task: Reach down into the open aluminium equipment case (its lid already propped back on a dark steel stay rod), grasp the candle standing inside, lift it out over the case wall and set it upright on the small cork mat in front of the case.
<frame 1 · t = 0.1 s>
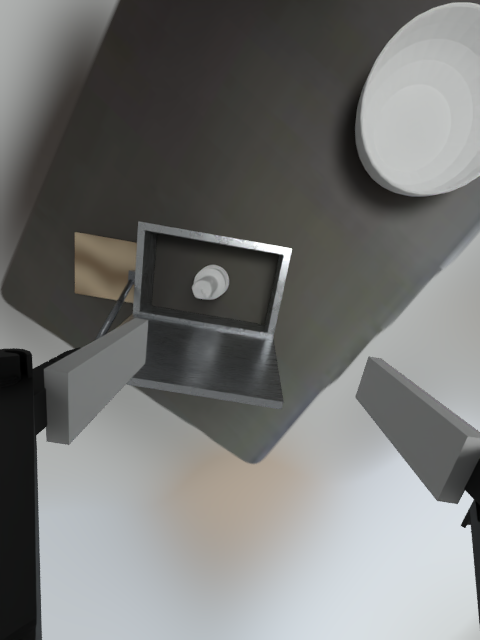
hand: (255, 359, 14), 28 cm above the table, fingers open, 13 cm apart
case: (213, 281, 41), on the table
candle: (213, 280, 41), resting in case
mat: (106, 268, 41), on the table
bowl: (408, 132, 35), on the table
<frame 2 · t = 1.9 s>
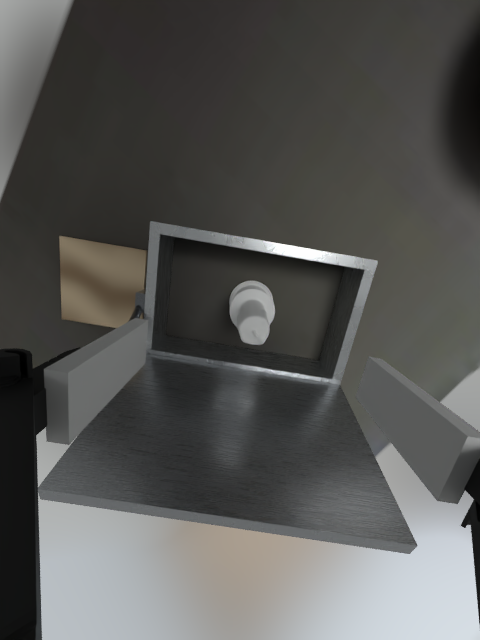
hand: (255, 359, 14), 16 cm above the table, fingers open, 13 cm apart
case: (251, 302, 30), on the table
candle: (251, 302, 30), resting in case
mat: (104, 285, 30), on the table
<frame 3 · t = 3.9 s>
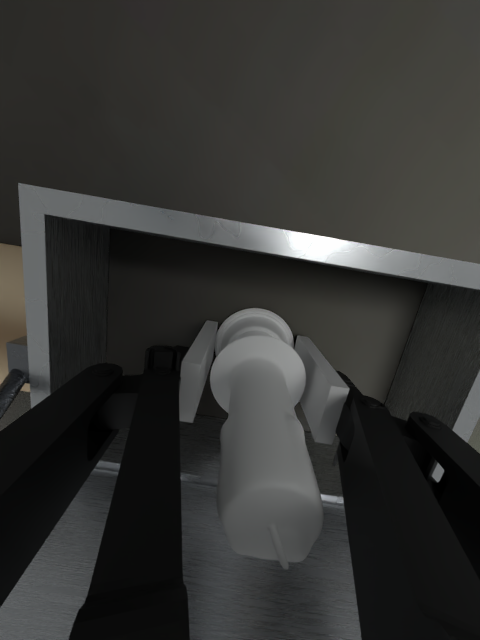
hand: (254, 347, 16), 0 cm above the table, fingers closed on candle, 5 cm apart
case: (254, 346, 17), on the table
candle: (253, 345, 17), resting in case, touching gripper
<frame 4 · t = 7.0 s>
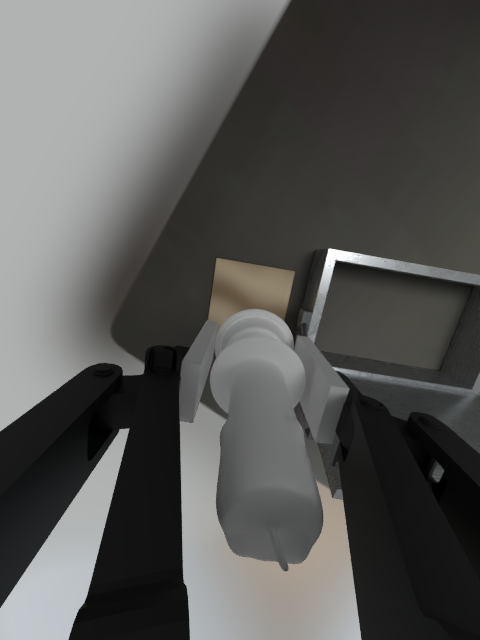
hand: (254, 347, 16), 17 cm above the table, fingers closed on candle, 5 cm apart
case: (383, 318, 32), on the table
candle: (253, 345, 17), point 16 cm above the table, touching gripper
mat: (249, 302, 32), on the table
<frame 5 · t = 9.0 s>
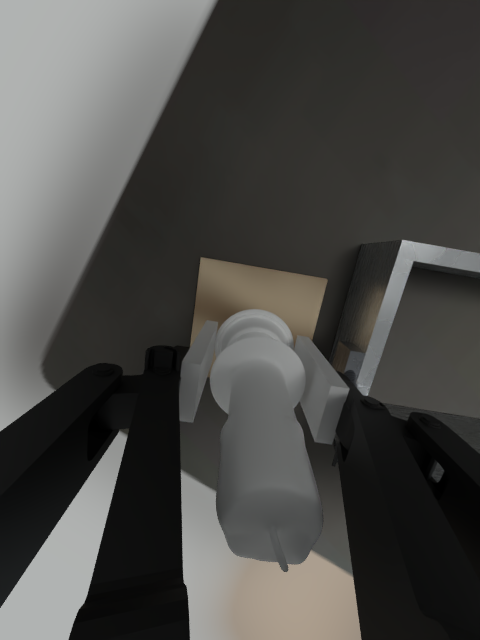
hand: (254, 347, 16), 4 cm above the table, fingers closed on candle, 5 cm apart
case: (464, 351, 21), on the table
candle: (253, 346, 17), point 4 cm above the table, touching gripper
mat: (253, 327, 21), on the table
when the fingers open (2 cm above the table, at t = 10.3 s): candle drops 1 cm, resting on mat.
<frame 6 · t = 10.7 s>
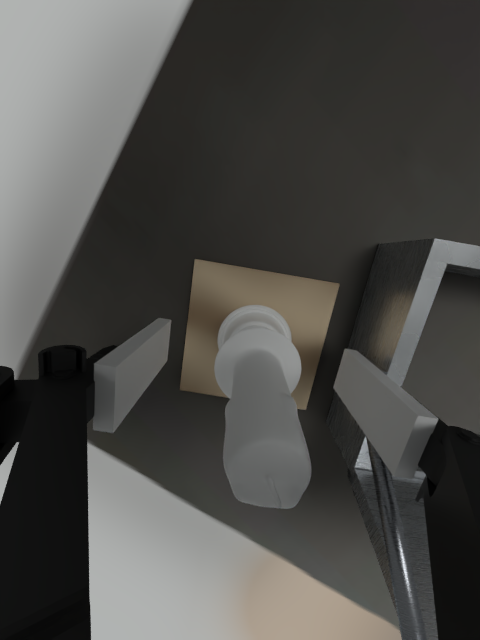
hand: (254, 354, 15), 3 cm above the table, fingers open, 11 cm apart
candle: (254, 339, 18), resting on mat
mat: (254, 338, 18), on the table
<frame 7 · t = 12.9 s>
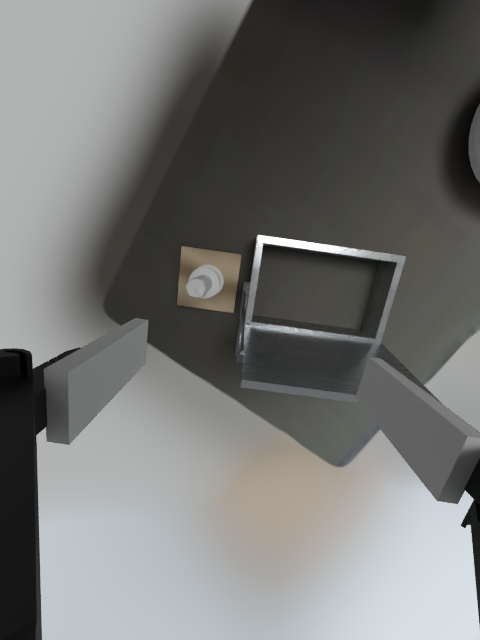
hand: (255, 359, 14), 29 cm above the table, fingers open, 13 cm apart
case: (312, 289, 42), on the table
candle: (208, 280, 42), resting on mat
mat: (208, 280, 42), on the table
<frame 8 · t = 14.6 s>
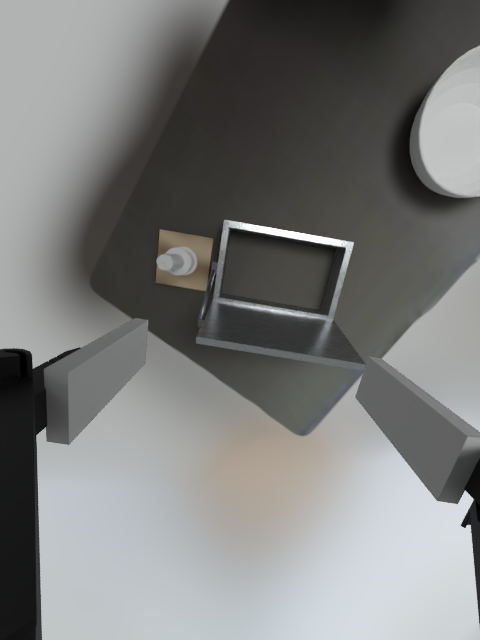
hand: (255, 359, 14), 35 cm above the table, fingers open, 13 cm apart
case: (277, 271, 47), on the table
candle: (183, 261, 47), resting on mat
mat: (184, 261, 47), on the table
bowl: (452, 143, 41), on the table
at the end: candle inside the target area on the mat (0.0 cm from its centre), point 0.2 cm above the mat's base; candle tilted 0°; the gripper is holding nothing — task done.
